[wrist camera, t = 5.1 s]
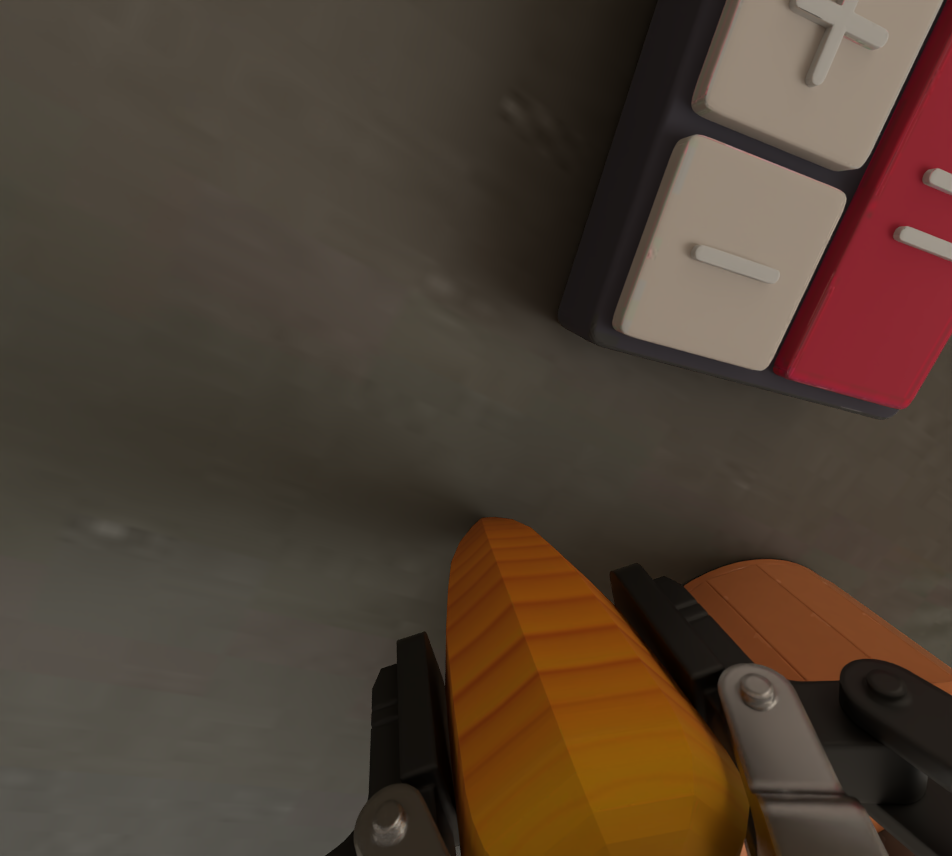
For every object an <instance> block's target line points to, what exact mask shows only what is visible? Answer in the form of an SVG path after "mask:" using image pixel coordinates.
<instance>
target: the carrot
mask: <svg viewBox="0 0 952 856" xmlns="http://www.w3.org/2000/svg"><path fill="white" fill-rule="evenodd" d="M445 693H446V706H447V718H448V731H449V743H450V756H451V768H452V777H453V786H454V795H455V804H456V812H457V823H458V832H459V841H460V850H461V856H740V854H741V851H742V847H743V844H744V840H745V837H746V832H747V824H748V816H749V807H750V805H749V802H748V798H747V795H746V792H745V789H744V785H743V782H742V779H741V775H740V773H739V771H738V769H737V768H736V766H735V764H734V762H733V761H732V759H731V757H730V756H729V754H728V752H727V750H726V749H725V748H724V746H723V745H722V744H721V742H720V741H719V740H718V738H717V737H716V736H715V734H714V733H713V732H712V730H711V729H710V728H709V726H708V725H707V723H706V722H705V721H704V719H703V718H702V717H701V715H700V714H699V713H698V711H697V710H696V709H695V708H694V706H693V705H692V704H691V702H690V701H689V699H688V698H687V697H686V695H685V694H684V693H683V691H682V690H681V688H680V687H679V686H678V684H677V683H676V682H675V680H674V679H673V678H672V676H671V675H670V674H669V672H668V671H667V669H666V668H665V667H664V666H663V664H662V663H661V662H660V661H659V659H658V658H657V657H656V656H655V654H654V653H653V652H652V650H651V649H650V648H649V647H648V645H647V644H646V643H645V642H644V640H643V639H642V638H641V637H640V635H639V634H638V633H637V631H636V630H635V629H634V628H633V626H632V625H631V624H630V623H629V621H628V620H627V619H626V618H625V616H624V615H623V614H622V612H621V611H620V610H619V609H618V608H617V607H616V606H615V605H614V604H613V603H612V602H611V601H610V600H609V599H608V598H606V597H605V596H604V595H603V594H602V593H601V592H600V591H599V590H598V589H597V588H596V587H595V586H594V585H593V584H592V583H591V582H590V581H589V580H588V579H587V578H586V577H585V576H584V575H583V574H582V573H581V572H580V571H578V570H577V569H576V568H575V567H574V566H573V565H572V564H571V563H570V562H569V561H568V560H567V559H565V558H564V557H563V556H562V555H561V554H560V553H559V552H558V551H557V550H556V549H555V548H553V547H552V546H551V545H550V544H549V543H548V542H547V541H546V540H544V539H543V538H542V537H541V536H540V535H539V534H538V533H536V532H535V531H534V530H533V529H532V528H531V527H529V526H526V525H524V524H522V523H520V522H517V521H515V520H513V519H506V518H499V517H486V518H481V519H480V520H479V521H477V522H476V523H475V524H474V525H473V526H472V527H471V528H470V530H469V531H468V532H467V534H466V535H465V536H464V537H463V539H462V540H461V541H460V543H459V545H458V547H457V550H456V552H455V554H454V557H453V559H452V561H451V569H450V578H449V586H448V601H447V622H446V674H445Z"/></svg>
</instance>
